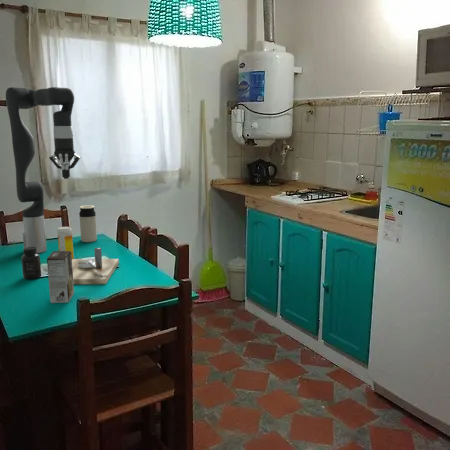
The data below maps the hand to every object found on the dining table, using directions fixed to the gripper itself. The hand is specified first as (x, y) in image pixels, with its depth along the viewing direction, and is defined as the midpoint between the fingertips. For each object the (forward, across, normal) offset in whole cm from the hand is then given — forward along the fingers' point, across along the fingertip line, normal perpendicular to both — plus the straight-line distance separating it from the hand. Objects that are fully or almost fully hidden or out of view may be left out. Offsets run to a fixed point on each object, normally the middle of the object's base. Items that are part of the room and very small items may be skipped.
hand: (66, 178), depth 202 cm
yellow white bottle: (+37, -3, +2) cm, 37 cm away
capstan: (+35, +14, -18) cm, 42 cm away
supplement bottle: (+37, -10, -21) cm, 44 cm away
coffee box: (+37, +9, -44) cm, 58 cm away
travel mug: (+37, -2, +38) cm, 53 cm away
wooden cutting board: (+37, +11, -16) cm, 42 cm away
